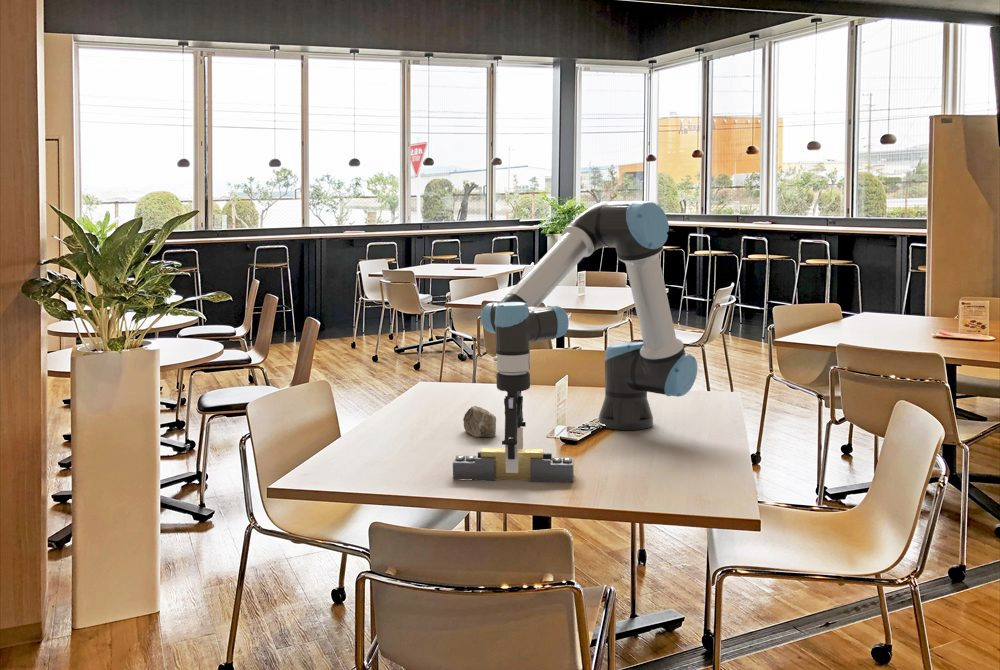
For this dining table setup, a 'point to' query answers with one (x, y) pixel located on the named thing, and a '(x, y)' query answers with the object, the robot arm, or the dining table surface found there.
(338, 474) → the dining table surface
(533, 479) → the grey block pair
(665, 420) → the dining table surface
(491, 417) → the stone
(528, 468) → the yellow wood block
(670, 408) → the dining table surface
